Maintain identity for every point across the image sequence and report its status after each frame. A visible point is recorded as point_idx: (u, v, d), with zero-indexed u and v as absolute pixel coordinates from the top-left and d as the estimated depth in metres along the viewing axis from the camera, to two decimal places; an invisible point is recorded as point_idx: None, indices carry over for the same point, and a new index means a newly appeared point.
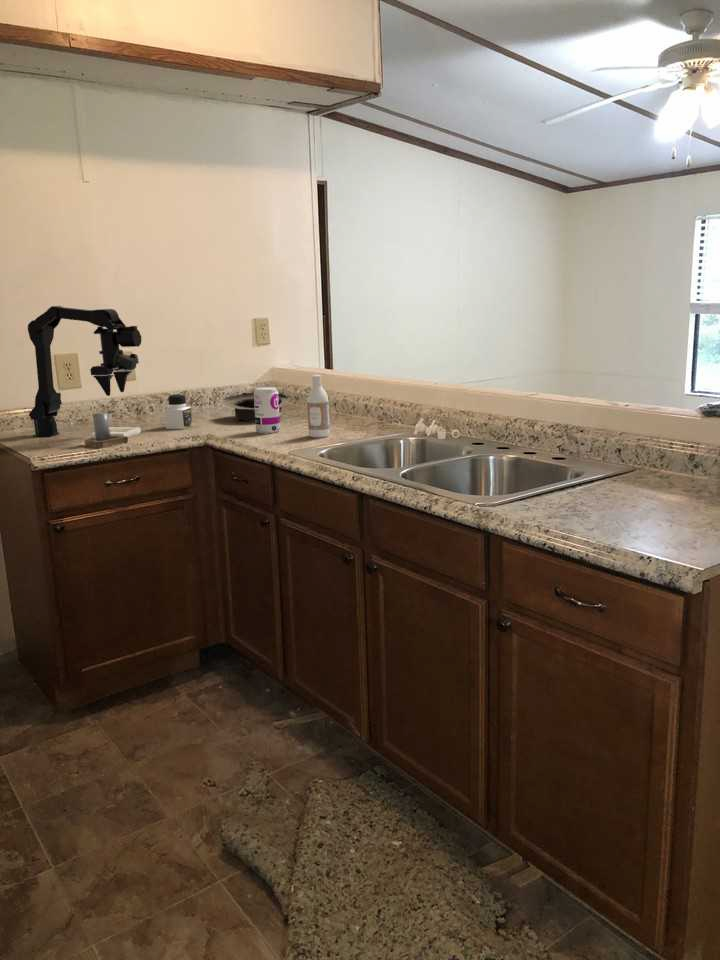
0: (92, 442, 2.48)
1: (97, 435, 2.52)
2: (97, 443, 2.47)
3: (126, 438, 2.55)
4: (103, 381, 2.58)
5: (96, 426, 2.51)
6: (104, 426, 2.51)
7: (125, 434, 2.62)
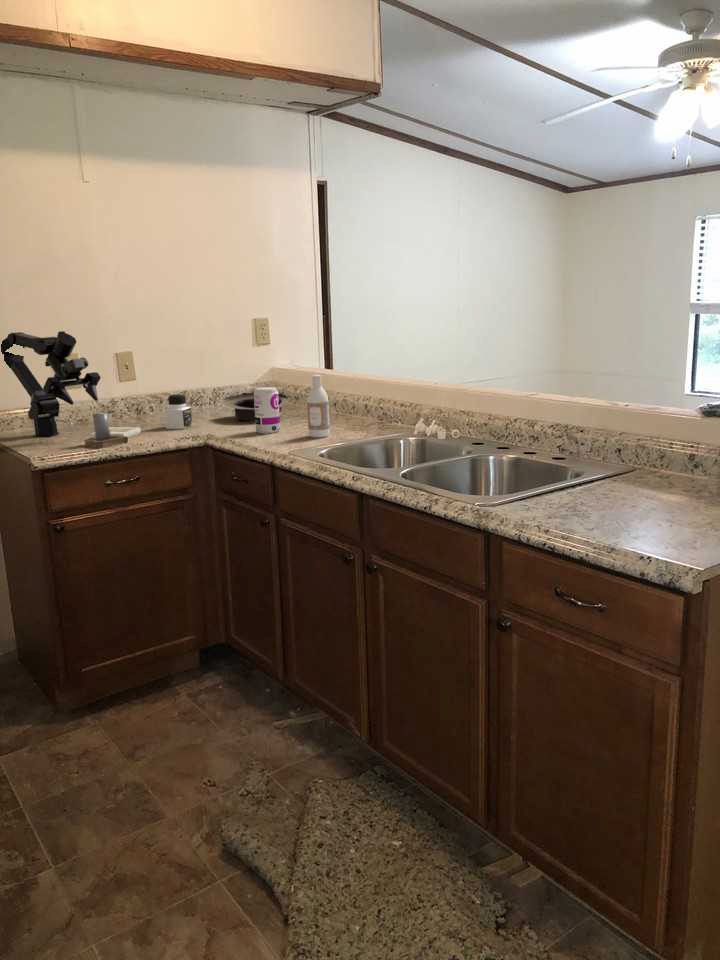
0: (92, 442, 2.48)
1: (97, 435, 2.52)
2: (97, 443, 2.47)
3: (126, 438, 2.55)
4: (61, 394, 2.53)
5: (96, 426, 2.51)
6: (104, 426, 2.51)
7: (125, 434, 2.62)
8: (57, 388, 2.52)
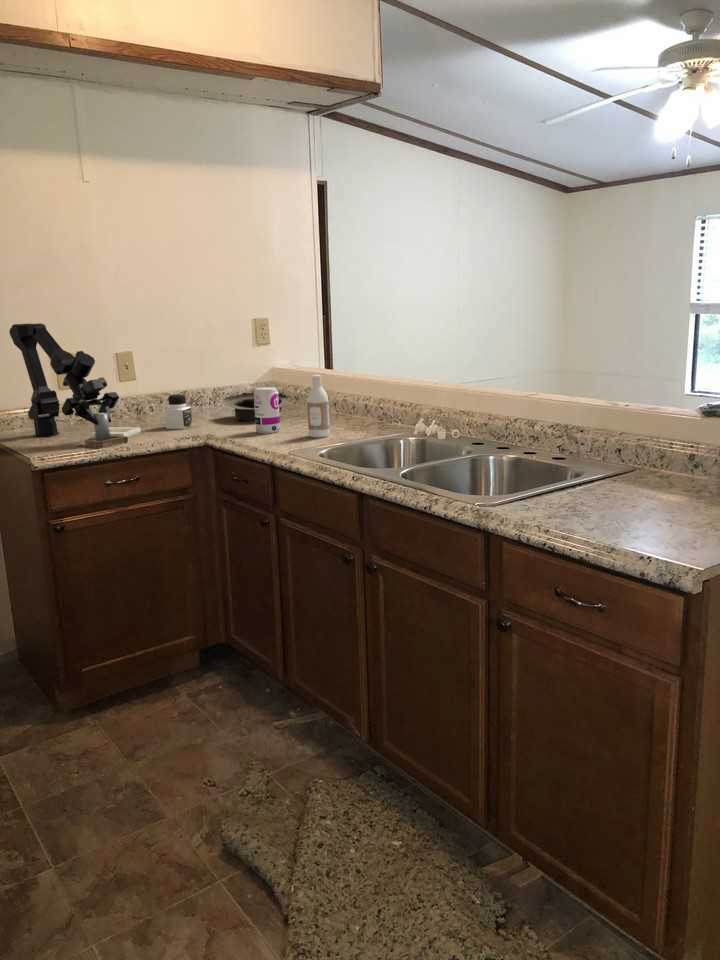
0: (92, 442, 2.48)
1: (97, 435, 2.52)
2: (97, 443, 2.47)
3: (126, 438, 2.55)
4: (85, 414, 2.51)
5: (96, 426, 2.51)
6: (104, 426, 2.51)
7: (125, 434, 2.62)
8: (82, 408, 2.50)
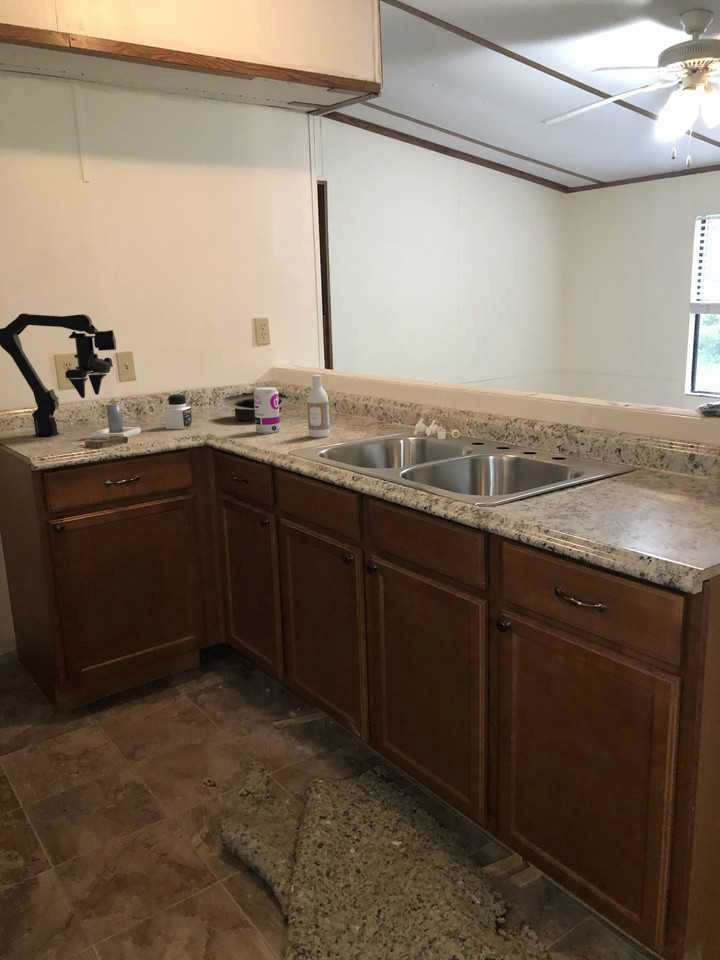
0: (92, 442, 2.48)
1: (113, 425, 2.65)
2: (97, 443, 2.47)
3: (126, 438, 2.55)
4: (78, 384, 2.67)
5: (112, 416, 2.64)
6: (119, 416, 2.66)
7: (125, 434, 2.62)
8: (79, 380, 2.65)
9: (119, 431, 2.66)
